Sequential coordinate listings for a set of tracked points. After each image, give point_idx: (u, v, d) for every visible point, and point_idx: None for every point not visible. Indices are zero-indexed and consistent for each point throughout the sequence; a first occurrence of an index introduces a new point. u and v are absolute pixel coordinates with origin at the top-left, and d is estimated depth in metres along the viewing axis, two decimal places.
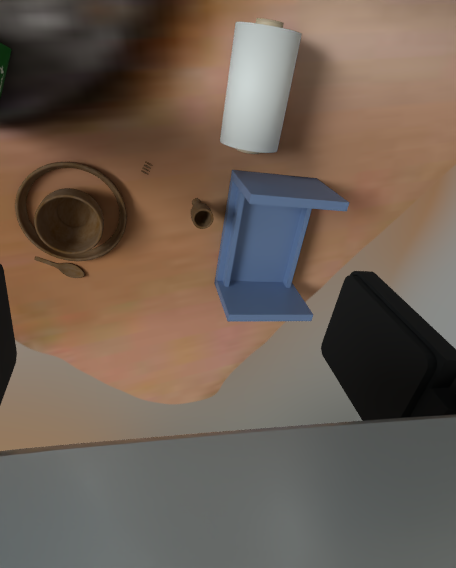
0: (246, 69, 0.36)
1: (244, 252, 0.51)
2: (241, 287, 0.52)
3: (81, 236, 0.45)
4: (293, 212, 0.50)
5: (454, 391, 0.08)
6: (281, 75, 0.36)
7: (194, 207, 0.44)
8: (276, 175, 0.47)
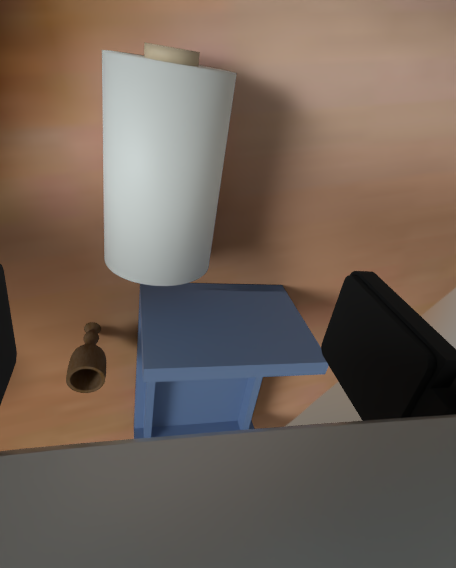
0: (127, 146, 0.18)
1: (173, 392, 0.33)
2: None
3: None
4: None
5: (454, 391, 0.08)
6: (200, 156, 0.18)
7: (73, 357, 0.25)
8: (215, 287, 0.29)
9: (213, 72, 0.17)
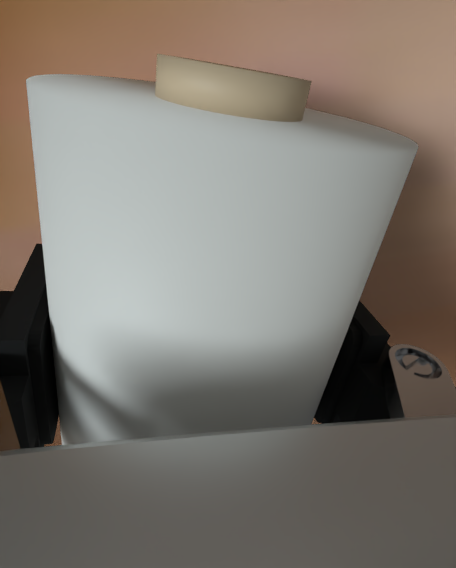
0: (94, 356, 0.06)
1: None
2: None
3: None
4: None
5: (381, 366, 0.09)
6: (302, 375, 0.06)
7: None
8: None
9: (385, 157, 0.05)
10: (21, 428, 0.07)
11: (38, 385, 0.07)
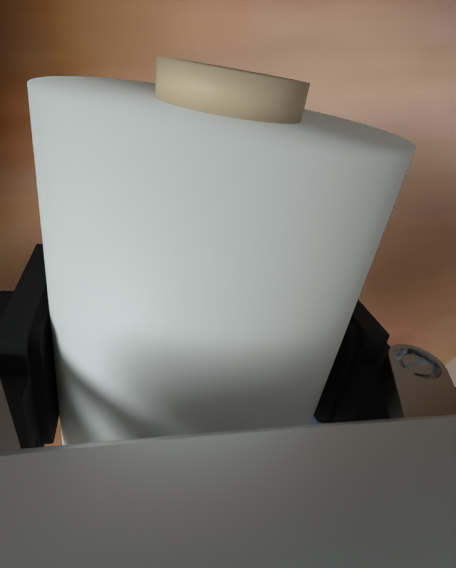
0: (95, 356, 0.06)
1: None
2: None
3: None
4: None
5: (381, 366, 0.09)
6: (301, 375, 0.06)
7: None
8: None
9: (382, 159, 0.05)
10: (22, 428, 0.07)
11: (39, 385, 0.07)
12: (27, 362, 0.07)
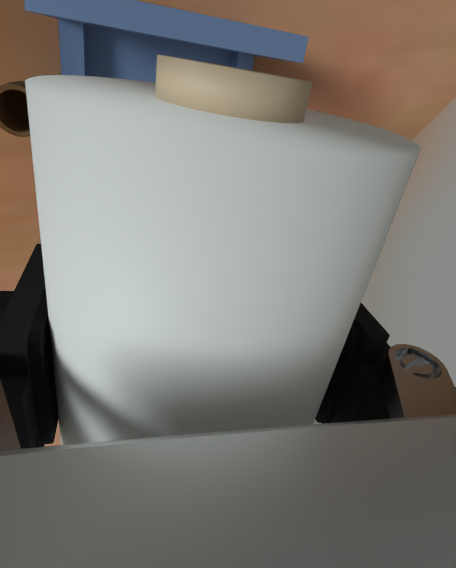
0: (94, 359, 0.06)
1: None
2: None
3: None
4: None
5: (380, 366, 0.09)
6: (303, 378, 0.06)
7: None
8: None
9: (387, 159, 0.05)
10: (22, 428, 0.07)
11: (39, 385, 0.07)
12: (27, 362, 0.07)
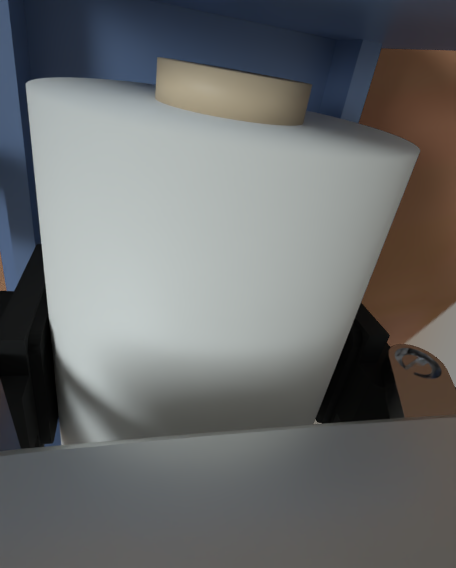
0: (94, 361, 0.06)
1: None
2: None
3: None
4: None
5: (381, 366, 0.09)
6: (303, 380, 0.06)
7: None
8: None
9: (387, 162, 0.05)
10: (21, 428, 0.07)
11: (38, 385, 0.07)
12: (27, 362, 0.07)
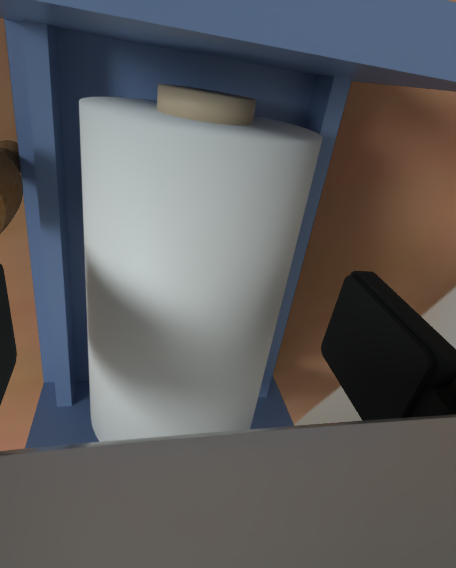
0: (118, 273, 0.10)
1: None
2: None
3: None
4: None
5: (454, 391, 0.08)
6: (252, 288, 0.10)
7: None
8: None
9: (287, 144, 0.08)
10: None
11: None
12: None
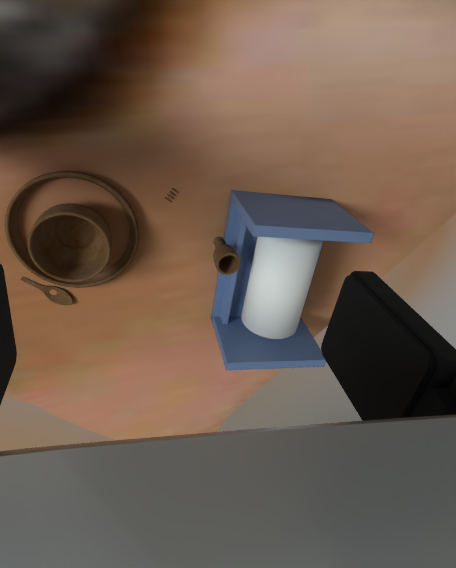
0: (271, 276, 0.37)
1: (245, 285, 0.44)
2: (242, 324, 0.45)
3: (79, 260, 0.38)
4: None
5: (454, 391, 0.08)
6: (304, 280, 0.38)
7: (220, 249, 0.38)
8: (284, 196, 0.40)
9: (315, 247, 0.36)
10: None
11: None
12: None
